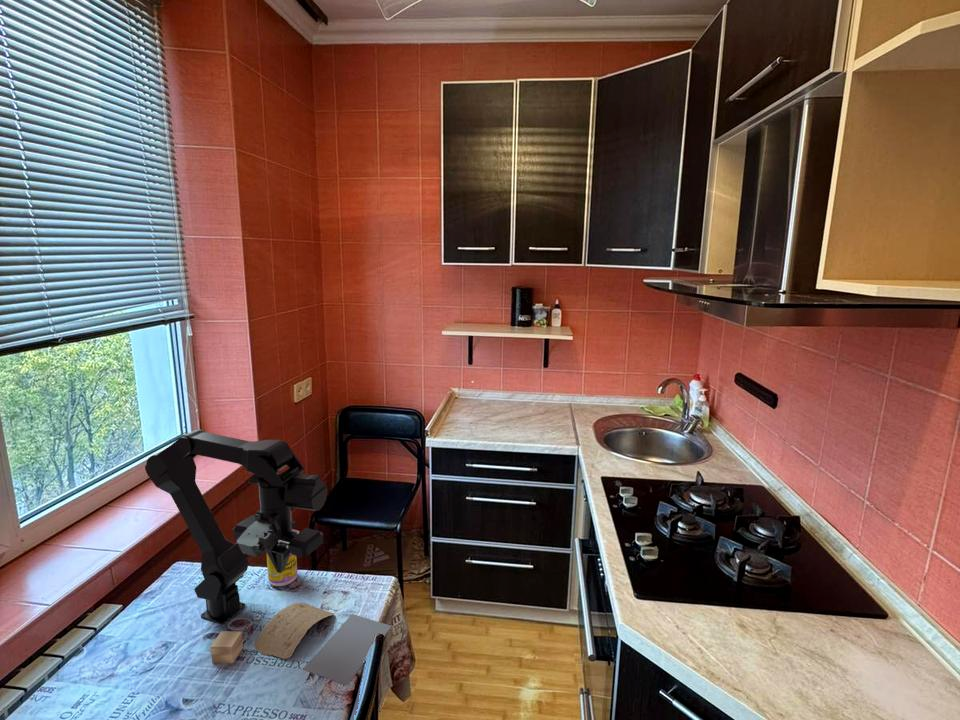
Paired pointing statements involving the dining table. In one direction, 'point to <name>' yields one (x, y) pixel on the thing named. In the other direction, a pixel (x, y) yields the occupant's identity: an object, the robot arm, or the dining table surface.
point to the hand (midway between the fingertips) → (280, 571)
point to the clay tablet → (288, 629)
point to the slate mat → (346, 649)
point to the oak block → (226, 647)
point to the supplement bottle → (286, 575)
